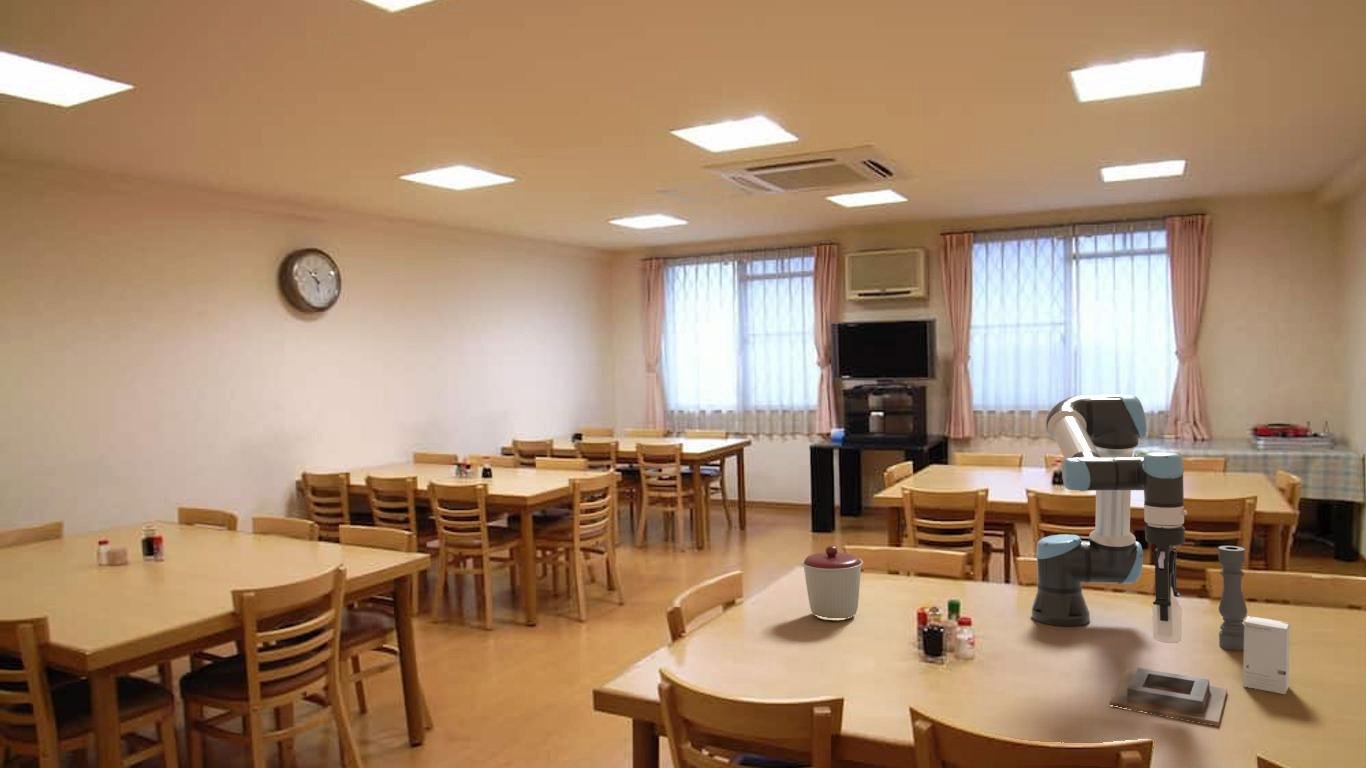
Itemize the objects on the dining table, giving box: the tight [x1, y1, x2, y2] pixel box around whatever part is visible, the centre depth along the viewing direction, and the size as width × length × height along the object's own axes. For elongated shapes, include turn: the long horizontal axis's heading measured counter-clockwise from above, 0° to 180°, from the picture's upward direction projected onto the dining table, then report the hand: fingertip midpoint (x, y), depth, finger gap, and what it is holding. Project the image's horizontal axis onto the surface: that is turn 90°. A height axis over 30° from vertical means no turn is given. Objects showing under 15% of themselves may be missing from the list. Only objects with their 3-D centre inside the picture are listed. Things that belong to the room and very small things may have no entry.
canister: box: [800, 545, 864, 618], centre depth 258 cm, size 18×18×21 cm
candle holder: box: [1217, 545, 1248, 652], centre depth 218 cm, size 6×6×25 cm
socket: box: [1109, 667, 1228, 727], centre depth 189 cm, size 20×20×4 cm
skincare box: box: [1242, 615, 1291, 695], centre depth 193 cm, size 8×6×15 cm
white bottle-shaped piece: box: [1152, 587, 1183, 644], centre depth 188 cm, size 6×12×6 cm
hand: (1167, 630), depth 188 cm, fingers closed on white bottle-shaped piece, 6 cm apart
